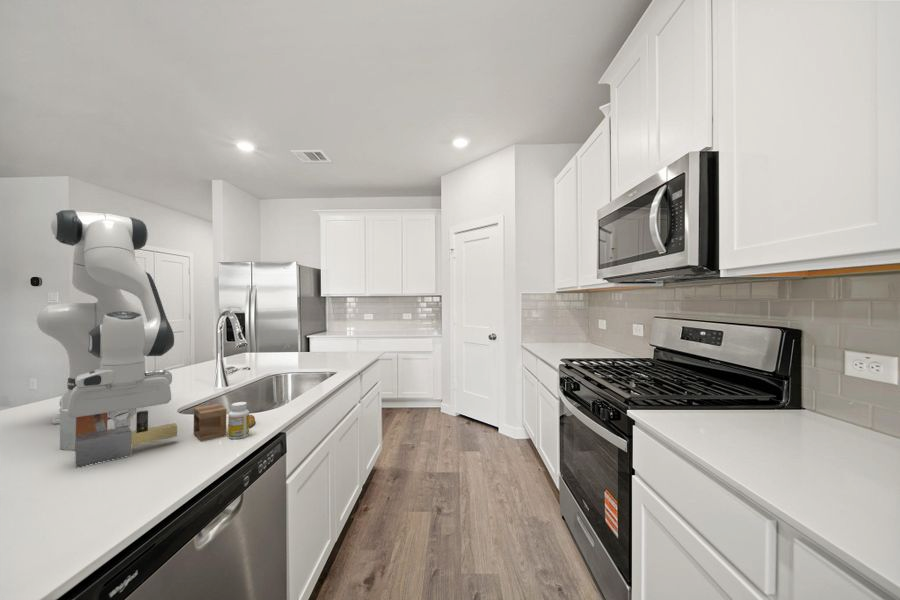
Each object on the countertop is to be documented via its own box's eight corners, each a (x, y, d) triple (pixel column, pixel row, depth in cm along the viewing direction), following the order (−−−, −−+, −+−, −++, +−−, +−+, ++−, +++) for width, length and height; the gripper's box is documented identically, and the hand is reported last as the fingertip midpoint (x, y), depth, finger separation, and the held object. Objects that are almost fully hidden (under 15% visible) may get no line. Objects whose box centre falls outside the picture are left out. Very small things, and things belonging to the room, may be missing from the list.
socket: (193, 434, 111) (193, 407, 111) (218, 429, 116) (218, 403, 116) (200, 441, 106) (200, 413, 106) (226, 435, 111) (226, 408, 111)
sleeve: (75, 460, 93) (75, 435, 93) (128, 449, 100) (128, 426, 100) (76, 468, 88) (76, 441, 88) (131, 455, 96) (131, 431, 96)
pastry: (238, 421, 125) (238, 409, 125) (259, 420, 126) (260, 409, 126) (226, 430, 115) (227, 418, 115) (250, 430, 117) (250, 417, 117)
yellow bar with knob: (75, 453, 92) (76, 421, 92) (175, 433, 106) (175, 405, 106) (76, 457, 90) (76, 424, 90) (177, 436, 104) (177, 407, 104)
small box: (74, 451, 98) (75, 411, 99) (58, 449, 100) (59, 410, 100) (108, 440, 106) (108, 403, 106) (92, 438, 107) (93, 402, 108)
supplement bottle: (241, 431, 114) (241, 400, 114) (253, 434, 112) (253, 402, 112) (224, 437, 109) (224, 404, 109) (236, 440, 107) (236, 406, 107)
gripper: (169, 367, 106) (169, 415, 106) (67, 377, 92) (66, 433, 92) (174, 370, 102) (173, 420, 102) (67, 381, 87) (67, 440, 87)
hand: (122, 426), depth 97 cm, fingers closed
